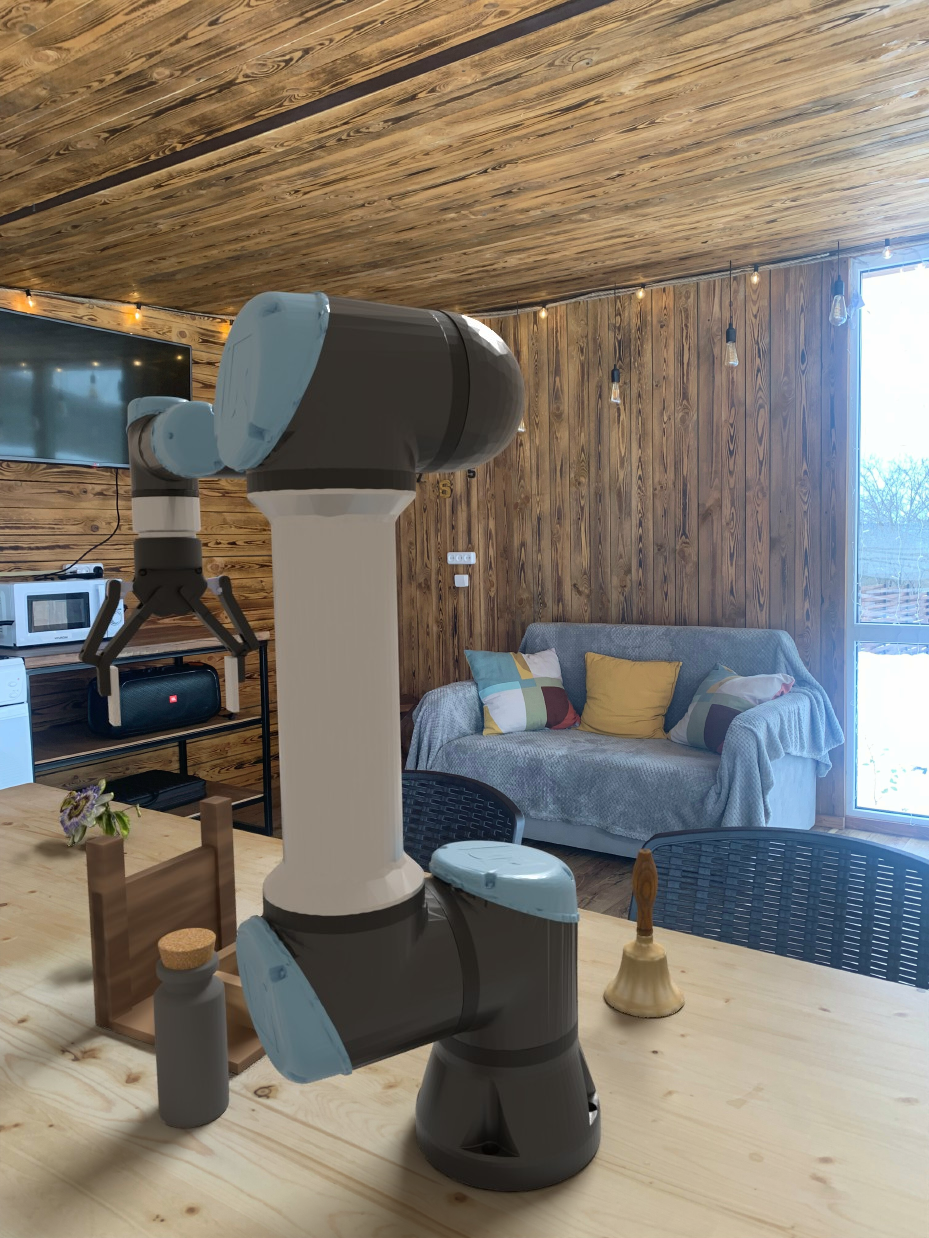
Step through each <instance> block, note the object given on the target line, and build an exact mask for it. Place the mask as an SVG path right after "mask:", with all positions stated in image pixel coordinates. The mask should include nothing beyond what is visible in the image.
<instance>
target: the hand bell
mask: <svg viewBox="0 0 929 1238" xmlns="http://www.w3.org/2000/svg"><path fill="white" fill-rule="evenodd" d="M637 853H638V854H637V856H636V860H635V862H634V866H633V869H632V877H631V878H632V880H631V882H632V883H631V884H632V891H633V892H632V893H633V895H634V900H635V903H636V909H637V913H636V918H637V919H636V926H637V927H636V929H635V932H636V938H635V939H633V940H630V941H628V942H626V943H625V945H624V946H623V949H622V954H621V955H622V956H621V962H620V966H619V969H618V971H617V974H616V975H615V977H614V978H613V979H611V980H610V981H609V982H608V983H607V985H605V988H604V990H603V996H604V999H605V1002H606V1003H608V1005H610V1006H611V1007H612V1008H613V1007H614V1008H613V1009H614V1010H617V1011H618V1012H621V1013H623V1012H624V1014H626V1013H627V1015H629V1014H631V1016H633V1017H638V1016H639V1017H640V1018H645V1017H647V1018H648V1019H650V1018H649V1017H656V1018H661V1016H662V1017H663V1016H664V1017H667V1015H668V1016H670V1015H669V1014H672V1013H674V1012H676V1013H678V1012H679V1011H680V1010H681V1009H682V1008H683V1007H684V1005H685V1002H684V999H685V996H684V993H683V992H682V990H681V988H680V987H679V986H678V985H677V984H676V983H675V982H674V980H673V979H672V977H671V974H670V970H669V965H668V957H667V951H666V949H665V947H664V946H663V945H662V944H660V943H658V942H656V941H654V928H653V927H654V925H653V924H654V921H653V910H654V909H653V908H654V904H655V902H656V898H657V894H658V884H659V883H658V880H659V879H658V878H659V877H658V871H657V867H656V866H657V865H656V864H655V861H654V857H653V853H652V851H651V849H648V848H641V849H639V850H638V852H637ZM682 1006H683V1007H682ZM681 1007H682V1008H681ZM680 1008H681V1009H680ZM679 1009H680V1010H679ZM678 1010H679V1011H678ZM677 1011H678V1012H677ZM674 1014H675V1013H674ZM672 1015H673V1014H672ZM647 1018H646V1019H647Z"/></svg>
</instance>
